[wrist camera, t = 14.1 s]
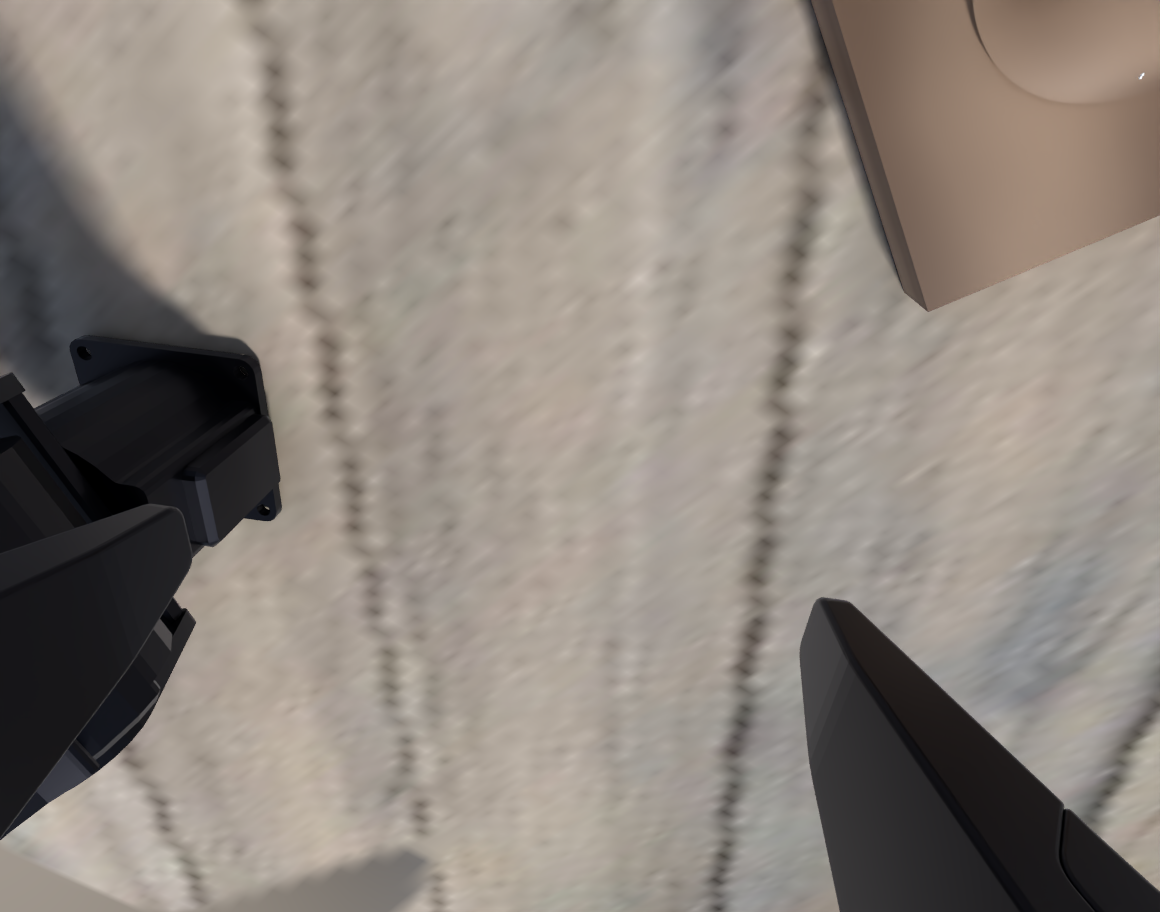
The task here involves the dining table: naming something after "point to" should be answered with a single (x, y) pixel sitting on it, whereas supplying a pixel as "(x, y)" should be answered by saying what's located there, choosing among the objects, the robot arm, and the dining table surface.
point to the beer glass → (1074, 47)
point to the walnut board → (979, 149)
